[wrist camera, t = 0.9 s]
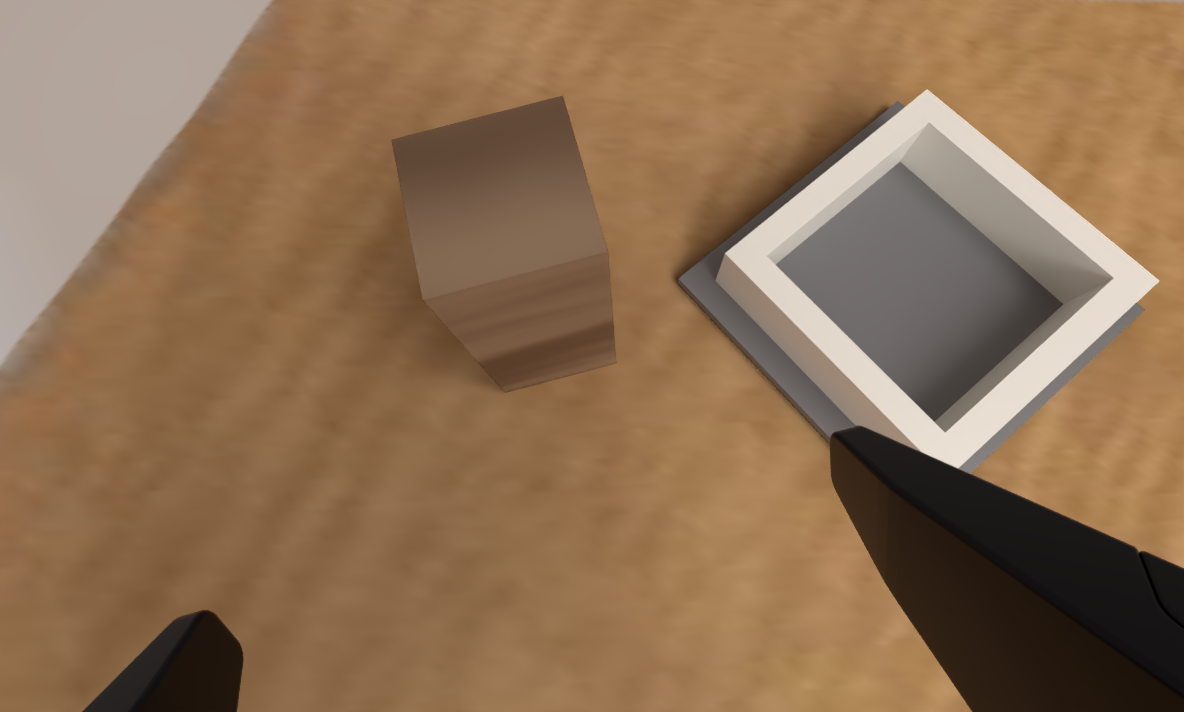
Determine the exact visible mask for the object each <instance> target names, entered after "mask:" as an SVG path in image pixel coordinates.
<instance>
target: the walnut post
mask: <svg viewBox="0 0 1184 712" xmlns="http://www.w3.org/2000/svg"><path fill="white" fill-rule="evenodd" d="M392 145H393V150H394V155H395V161H396V166H397V171H398V176H399V181H400V186H401V191H402V197H403V202H404V207H405V212H406V217H407V222H408V227H409V233H410V238H411V243H412V248H413V253H414V258H415V263H416V269H417V274H418V279H419V284H420V289H421V294H422V299H423V301H424V302H425V303H426V304H427V306H428V307H429V308H430V309H431V310H432V311H433V312H434V313H435V315H436V316H437V317H438V318H439V319H440V320H441V321H442V322H443V323H444V325H445V326H446V327H447V328H448V329H449V330H450V331H451V332H452V334H453V335H454V336H455V337H456V338H457V339H458V340H459V341H460V342H461V344H462V345H463V346H464V347H465V348H466V349H467V350H468V351H469V353H470V354H471V355H472V356H473V357H474V358H475V359H476V360H477V362H478V363H479V364H480V365H481V366H482V367H483V368H484V369H485V370H486V372H487V373H488V374H489V375H490V376H491V377H492V378H493V379H494V381H495V382H496V383H497V384H498V385H499V386H500V387H501V388H502V390H503V391H504V392H505V393H506V392H510V391H513V390H517V389H521V388H525V387H528V386H532V385H536V384H540V383H543V382H547V381H551V380H555V379H559V378H562V377H566V376H570V375H574V374H577V373H581V372H585V371H589V370H593V369H596V368H600V367H604V366H608V365H611V364H615V363H616V352H615V338H614V325H613V311H612V297H611V284H610V270H609V256H608V249H607V246H606V242H605V239H604V236H603V232H602V229H601V225H600V222H599V218H598V215H597V211H596V208H595V205H594V201H593V198H592V194H591V191H590V187H589V184H588V181H587V177H586V174H585V170H584V167H583V163H582V160H581V156H580V153H579V150H578V146H577V143H576V139H575V136H574V132H573V129H572V126H571V122H570V119H569V115H568V112H567V108H566V105H565V101H564V98H563V96H560V97H556V98H552V99H548V100H544V101H540V102H536V103H533V104H529V105H525V106H521V107H517V108H513V109H509V110H505V111H502V112H498V113H494V114H490V115H486V116H482V117H478V118H474V119H471V120H467V121H463V122H459V123H455V124H451V125H447V126H443V127H440V128H436V129H432V130H428V131H424V132H420V133H416V134H412V135H408V136H405V137H401V138H397V139H393V140H392Z"/></svg>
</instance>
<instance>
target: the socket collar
mask: <svg viewBox="0 0 1184 712" xmlns="http://www.w3.org/2000/svg"><path fill="white" fill-rule="evenodd" d="M1158 282H1159V280H1158V279H1157V278H1155V277H1154V276H1153V275H1152V274H1151V273H1149V272H1148V271H1147V270H1146V269H1145V268H1143V267H1142V266H1141V265H1140V264H1138V263H1137V262H1136V261H1135V260H1134V259H1132V258H1131V257H1130V256H1129V255H1128V254H1126V253H1125V252H1124V251H1123V250H1122V249H1120V248H1119V247H1118V246H1117V245H1115V244H1114V243H1113V242H1112V241H1111V240H1109V239H1108V238H1107V237H1106V236H1105V235H1103V234H1102V233H1101V232H1100V231H1098V230H1097V229H1096V228H1095V227H1094V226H1092V225H1091V224H1090V223H1089V222H1088V221H1086V220H1085V219H1084V218H1083V217H1082V216H1080V215H1079V214H1078V213H1077V212H1075V211H1074V210H1073V209H1072V208H1071V207H1069V206H1068V205H1067V204H1066V203H1065V202H1063V201H1062V200H1061V199H1060V198H1058V197H1057V196H1056V195H1055V194H1054V193H1052V192H1051V191H1050V190H1049V189H1048V188H1046V187H1045V186H1044V185H1043V184H1041V183H1040V182H1039V181H1038V180H1037V179H1035V178H1034V177H1033V176H1032V175H1031V174H1029V173H1028V172H1027V171H1026V170H1025V169H1023V168H1022V167H1021V166H1020V165H1018V164H1017V163H1016V162H1015V161H1014V160H1012V159H1011V158H1010V157H1009V156H1008V155H1006V154H1005V153H1004V152H1003V151H1001V150H1000V149H999V148H998V147H997V146H995V145H994V144H993V143H992V142H991V141H989V140H988V139H987V138H986V137H984V136H983V135H982V134H981V133H980V132H978V131H977V130H976V129H975V128H974V127H972V126H971V125H970V124H969V123H968V122H966V121H965V120H964V119H963V118H961V117H960V116H959V115H958V114H957V113H955V112H954V111H953V110H952V109H951V108H949V107H948V106H947V105H946V104H944V103H943V102H942V101H941V100H940V99H938V98H937V97H936V96H935V95H934V94H932V93H931V92H930V91H929V90H928V89H927V90H926V91H924V92H923V93H922V94H921V95H919V96H918V97H917V98H916V99H914V100H913V101H912V102H911V103H910V104H908V105H907V106H906V107H904V106H903V105H902V104H901V103H899V102H898V101H897V102H896V103H895V104H894V105H893V106H891V107H890V108H889V109H888V110H886V111H885V112H884V113H883V114H881V115H880V116H879V117H878V118H876V119H875V120H874V121H873V122H871V123H870V124H869V125H868V126H867V127H865V128H864V129H863V130H862V131H860V132H859V133H858V134H857V135H855V136H854V137H853V138H852V139H850V140H849V141H848V142H847V143H845V144H844V145H843V146H842V147H841V148H839V149H838V150H837V151H836V152H834V153H833V154H832V155H831V156H829V157H828V158H827V159H826V160H824V161H823V162H822V163H821V164H820V165H818V166H817V167H816V168H815V169H813V170H812V171H811V172H810V173H808V174H807V175H806V176H805V177H803V178H802V179H801V180H800V181H798V182H797V183H796V184H795V185H794V186H792V187H791V188H790V189H789V190H787V191H786V192H785V193H784V194H782V195H781V196H780V197H779V198H777V199H776V200H775V201H774V202H772V203H771V204H770V205H769V206H768V207H766V208H765V209H764V210H763V211H761V212H760V213H759V214H758V215H756V216H755V217H754V218H753V219H751V220H750V221H749V222H748V223H747V224H745V225H744V226H743V227H742V228H740V229H739V230H738V231H737V232H735V233H734V234H733V235H732V236H730V237H729V238H728V239H727V240H725V241H724V242H723V243H722V244H721V245H719V246H718V247H717V248H716V249H714V250H713V251H712V252H711V253H709V254H708V255H707V256H706V257H704V258H703V259H702V260H701V261H699V262H698V263H697V264H696V265H695V266H693V267H692V268H691V269H690V270H688V271H687V272H686V273H685V274H683V275H682V276H681V277H680V278H679V279H678V284H679V285H680V286H681V288H682V289H683V290H684V291H685V292H686V293H687V294H688V295H689V296H690V297H691V298H692V299H693V300H694V301H695V302H696V303H697V304H698V305H699V307H700V308H701V309H702V310H703V311H704V312H705V313H706V314H707V315H708V316H709V317H710V318H711V319H712V320H713V321H714V322H715V323H716V324H717V326H718V327H719V328H720V329H721V330H722V331H723V332H724V333H725V334H726V335H727V336H728V337H729V338H730V339H731V340H732V341H733V342H734V343H735V345H736V346H737V347H738V348H739V349H740V350H741V351H742V352H743V353H744V354H745V355H746V356H747V357H748V358H749V359H750V360H751V361H752V363H753V364H754V365H755V366H756V367H757V368H758V369H759V370H760V371H761V372H762V373H763V374H764V375H765V376H766V377H767V378H768V379H769V380H770V382H771V383H772V384H773V385H774V386H775V387H776V388H777V389H778V390H779V391H780V392H781V393H782V394H783V395H784V396H785V397H786V398H787V399H788V401H789V402H790V403H791V404H792V405H793V406H794V407H795V408H796V409H797V410H798V411H799V412H800V413H801V414H802V415H803V416H804V417H805V418H806V420H807V421H808V422H809V423H810V424H811V425H812V426H813V427H814V428H815V429H816V430H817V431H818V432H819V433H820V434H821V435H822V436H823V437H824V439H825V440H826V441H827V442H828V443H829V444H830V437H831V434H832V433H833V432H835V431H838V430H841V429H845V428H848V427H852V426H857V425H859V426H863V427H866V428H868V429H871V430H873V431H875V432H877V433H880V434H882V435H884V436H886V437H889V438H891V439H893V440H895V441H898V442H900V443H902V444H904V445H907V446H909V447H911V448H913V449H916V450H918V451H920V452H922V453H925V454H927V455H929V456H931V457H934V458H936V459H938V460H940V461H943V462H945V463H947V464H949V465H952V466H954V467H956V468H958V469H961V470H963V471H965V472H967V473H971V472H972V471H973V470H974V469H976V468H977V467H978V466H979V465H980V464H981V463H982V462H983V461H984V460H985V459H986V458H987V457H988V456H989V455H990V454H992V453H993V452H994V451H995V450H996V449H997V448H998V447H999V446H1000V445H1001V444H1002V443H1003V442H1004V441H1005V440H1007V439H1008V438H1009V437H1010V436H1011V435H1012V434H1013V433H1014V432H1015V431H1016V430H1017V429H1018V428H1019V427H1020V426H1021V425H1023V424H1024V423H1025V422H1026V421H1027V420H1028V419H1029V418H1030V417H1031V416H1032V415H1033V414H1034V413H1035V412H1036V411H1037V410H1039V409H1040V408H1041V407H1042V406H1043V405H1044V404H1045V403H1046V402H1047V401H1048V400H1049V399H1050V398H1051V397H1052V396H1054V395H1055V394H1056V393H1057V392H1058V391H1059V390H1060V389H1061V388H1062V387H1063V386H1064V385H1065V384H1066V383H1067V382H1068V381H1070V380H1071V379H1072V378H1073V377H1074V376H1075V375H1076V374H1077V373H1078V372H1079V371H1080V370H1081V369H1082V368H1083V367H1084V366H1086V365H1087V364H1088V363H1089V362H1090V361H1091V360H1092V359H1093V358H1094V357H1095V356H1096V355H1097V354H1098V353H1099V352H1100V351H1102V350H1103V349H1104V348H1105V347H1106V346H1107V345H1108V344H1109V343H1110V342H1111V341H1112V340H1113V339H1114V338H1115V337H1117V336H1118V335H1119V334H1120V333H1121V332H1122V331H1123V330H1124V329H1125V328H1126V327H1127V326H1128V325H1129V324H1130V323H1131V322H1133V321H1134V320H1135V319H1136V318H1137V317H1138V316H1139V315H1140V314H1141V313H1142V312H1143V311H1144V310H1145V309H1144V308H1142V307H1141V306H1140V305H1139V304H1138V303H1136V302H1137V301H1139V300H1140V299H1141V298H1142V297H1143V296H1144V295H1145V294H1146V293H1147V292H1148V291H1149V290H1150V289H1151V288H1152V287H1154V286H1155V285H1156V284H1157V283H1158Z"/></svg>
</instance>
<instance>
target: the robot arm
mask: <svg viewBox="0 0 1184 712" xmlns="http://www.w3.org/2000/svg"><path fill="white" fill-rule="evenodd" d="M830 464H831V478H832V482H833V485H834V488H835V490H836V492H837V494H838V496H839V498H840V500H841V502H842V504H843V505H844V507H845V509H846V511H847V513H848V515H849V517H850V519H851V521H852V522H853V524H854V526H855V528H856V530H857V532H858V534H859V536H860V537H861V539H862V541H863V543H864V545H865V547H866V549H867V551H868V552H869V554H870V556H871V558H872V560H873V562H874V564H875V566H876V567H877V569H878V571H879V573H880V575H881V576H882V578H883V580H884V582H885V584H886V585H887V587H888V588H889V590H890V591H891V593H892V594H893V596H894V598H895V599H896V601H897V602H898V604H899V605H900V606H901V608H902V609H903V611H904V612H905V614H906V615H907V617H908V618H909V620H910V621H911V623H912V624H913V626H914V627H915V628H916V630H917V631H918V633H919V634H920V636H921V637H922V639H923V640H924V642H925V643H926V645H927V646H928V647H929V649H930V650H931V652H932V653H933V655H934V656H935V658H936V659H937V661H938V662H939V664H940V665H941V667H942V668H943V669H944V671H945V672H946V674H947V675H948V677H949V678H950V680H951V681H952V683H953V684H954V686H955V687H956V689H957V690H958V691H959V693H960V694H961V696H962V697H963V699H964V700H965V702H966V703H967V705H968V706H969V708H970V709H971V710H972V712H1184V568H1182V567H1180V566H1177V565H1175V564H1173V563H1171V562H1168V561H1166V560H1164V559H1161V558H1159V557H1157V556H1155V555H1152V554H1150V553H1148V552H1146V551H1141V552H1138V550H1137V549H1136V548H1135V547H1134V546H1132V545H1129V544H1127V543H1125V542H1123V541H1120V540H1118V539H1116V538H1114V537H1111V536H1109V535H1107V534H1105V533H1102V532H1100V531H1098V530H1096V529H1093V528H1091V527H1089V526H1087V525H1084V524H1082V523H1080V522H1078V521H1075V520H1073V519H1071V518H1069V517H1066V516H1064V515H1062V514H1060V513H1057V512H1055V511H1053V510H1051V509H1048V508H1046V507H1044V506H1042V505H1039V504H1037V503H1035V502H1033V501H1030V500H1028V499H1026V498H1024V497H1021V496H1019V495H1017V494H1015V493H1012V492H1010V491H1008V490H1006V489H1003V488H1001V487H999V486H997V485H994V484H992V483H990V482H988V481H985V480H983V479H981V478H979V477H976V476H974V475H972V474H970V473H967V472H965V471H963V470H961V469H958V468H956V467H954V466H952V465H949V464H947V463H945V462H943V461H940V460H938V459H936V458H934V457H931V456H929V455H927V454H925V453H922V452H920V451H918V450H916V449H913V448H911V447H909V446H907V445H904V444H902V443H900V442H898V441H895V440H893V439H891V438H889V437H886V436H884V435H882V434H880V433H877V432H875V431H873V430H871V429H868V428H866V427H863V426H859V425H857V426H852V427H848V428H845V429H841V430H838V431H835V432H833V433H832V434H831V437H830ZM242 668H243V651H242V647H241V645H240V643H239V641H238V640H237V639H236V638H235V637H234V635H233V634H232V633H231V632H230V631H229V630H228V628H227V627H226V626H225V625H224V624H223V622H222V621H221V620H220V619H219V618H218V617H217V615H216V614H215V613H213V612H211V611H209V610H202V611H198V612H195V613H191V614H188V615H184V616H181V617H179V618H177V619H175V620H174V621H173V622H172V623H170V624H169V625H168V626H167V627H166V628H165V629H164V630H163V631H162V632H161V633H160V634H159V635H158V636H157V637H156V638H155V639H154V640H153V641H152V642H151V643H150V644H149V645H148V646H147V647H146V648H145V649H144V650H143V651H142V652H141V653H140V654H139V655H138V656H137V657H136V658H135V659H134V660H133V661H132V662H131V663H130V664H129V665H128V666H127V667H126V668H125V669H124V670H123V671H122V672H121V673H120V674H119V675H118V676H117V677H116V678H115V679H114V680H113V681H112V682H111V683H110V684H109V685H108V686H107V687H106V688H105V689H104V690H103V691H102V692H101V693H100V694H99V695H98V696H97V697H96V698H95V699H94V700H93V701H92V702H91V703H90V704H89V705H88V706H87V707H86V708H85V709H84V710H83V711H82V712H237V706H238V699H239V691H240V683H241V675H242Z"/></svg>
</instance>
